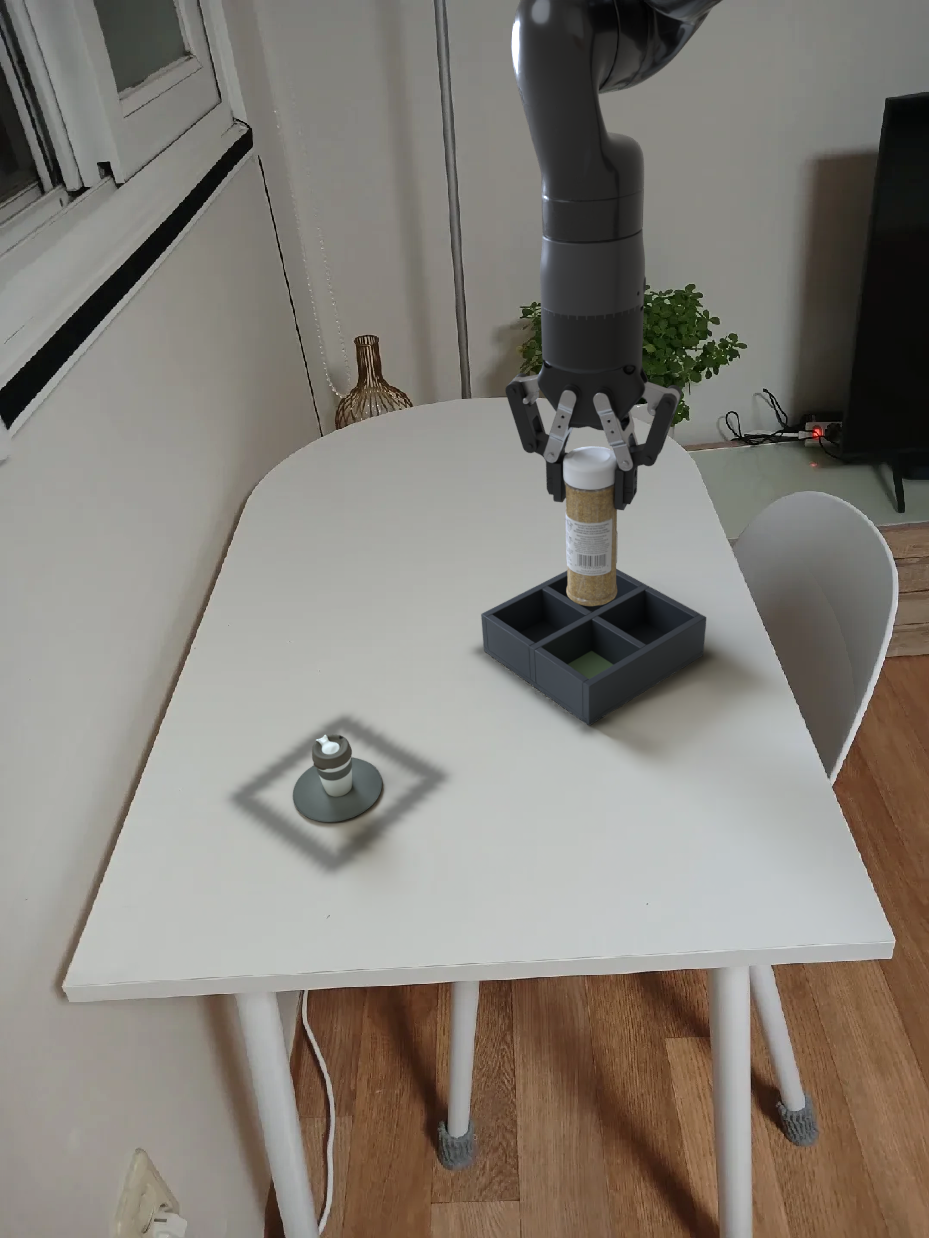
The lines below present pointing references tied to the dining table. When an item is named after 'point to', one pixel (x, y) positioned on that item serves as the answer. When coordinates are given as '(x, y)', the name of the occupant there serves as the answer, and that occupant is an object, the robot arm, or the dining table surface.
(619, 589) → the divided storage tray
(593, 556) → the sprinkles bottle
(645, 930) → the dining table surface
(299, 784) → the coffee cup
